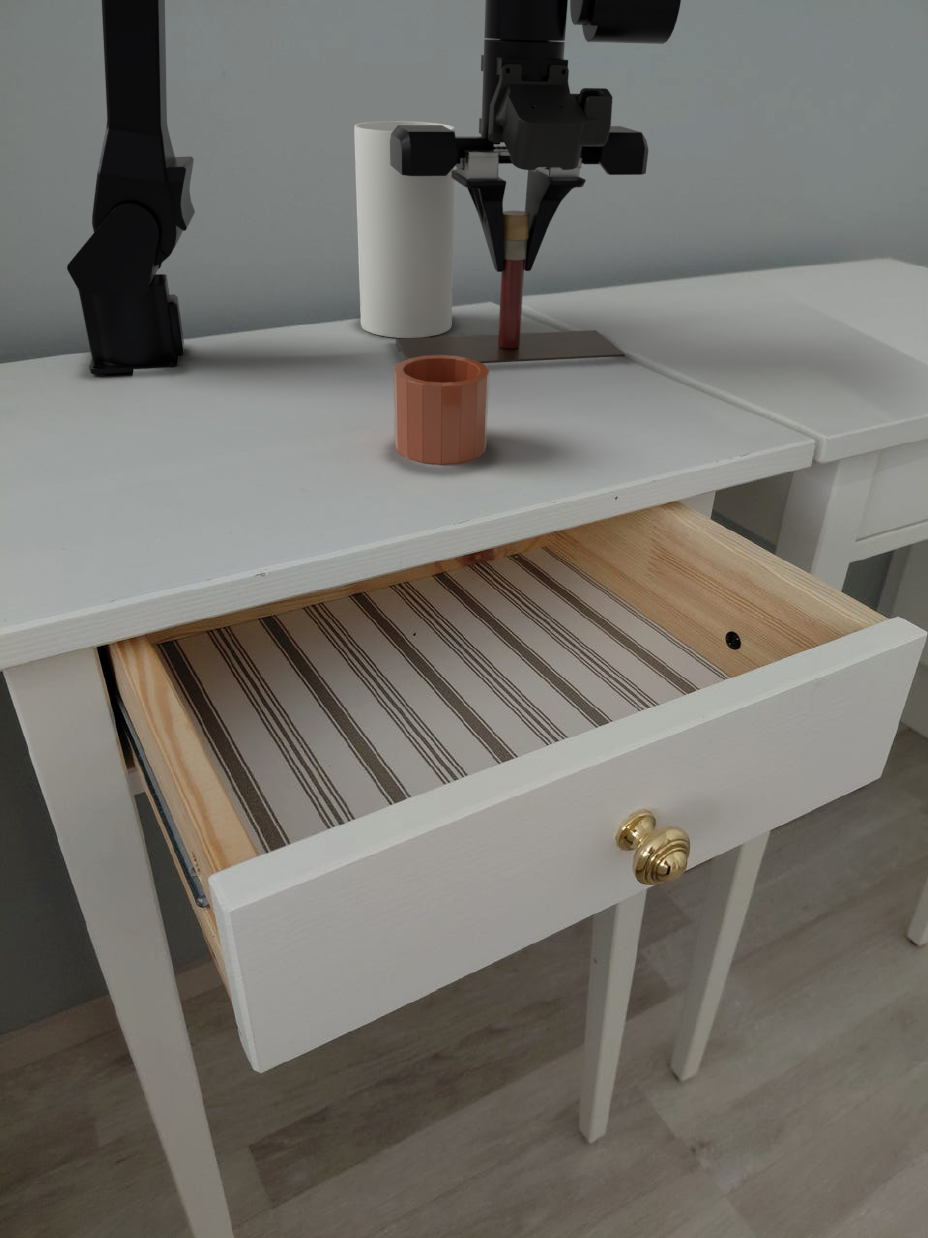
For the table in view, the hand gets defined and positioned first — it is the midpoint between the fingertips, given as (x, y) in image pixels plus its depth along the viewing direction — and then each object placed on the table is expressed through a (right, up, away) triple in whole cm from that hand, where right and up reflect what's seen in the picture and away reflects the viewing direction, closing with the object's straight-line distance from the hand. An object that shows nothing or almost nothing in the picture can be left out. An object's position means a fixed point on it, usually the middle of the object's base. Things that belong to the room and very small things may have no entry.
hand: (512, 270), depth 74 cm
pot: (-5, -17, -14) cm, 23 cm away
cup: (-9, -1, +10) cm, 14 cm away
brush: (0, -5, +3) cm, 6 cm away
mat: (0, -6, +4) cm, 7 cm away
